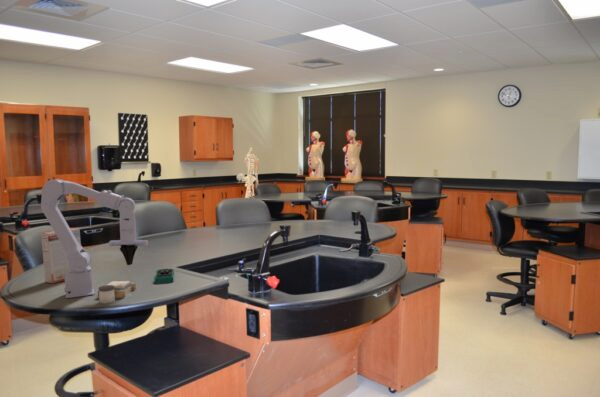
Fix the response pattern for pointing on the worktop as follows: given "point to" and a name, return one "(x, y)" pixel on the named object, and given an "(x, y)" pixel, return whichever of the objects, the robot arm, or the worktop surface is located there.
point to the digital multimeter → (164, 275)
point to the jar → (106, 294)
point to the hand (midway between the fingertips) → (129, 264)
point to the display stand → (122, 291)
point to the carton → (121, 285)
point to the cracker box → (55, 256)
